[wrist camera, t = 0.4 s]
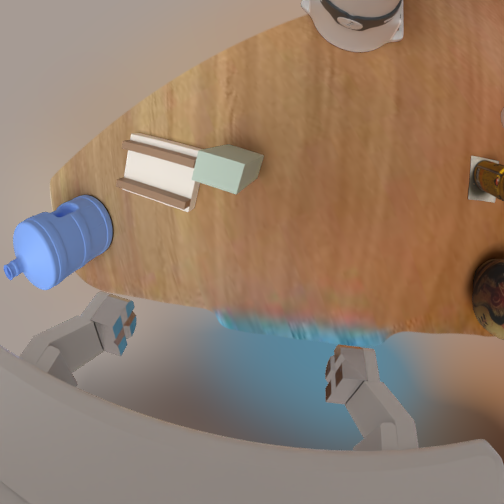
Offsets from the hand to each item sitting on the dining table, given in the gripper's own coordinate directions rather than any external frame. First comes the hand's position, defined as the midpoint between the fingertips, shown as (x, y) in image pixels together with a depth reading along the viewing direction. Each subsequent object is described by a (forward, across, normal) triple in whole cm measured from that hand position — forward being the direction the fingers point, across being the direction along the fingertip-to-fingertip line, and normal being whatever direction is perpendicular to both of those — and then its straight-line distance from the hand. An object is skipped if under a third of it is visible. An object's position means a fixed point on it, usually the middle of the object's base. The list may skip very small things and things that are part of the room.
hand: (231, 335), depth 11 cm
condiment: (+42, -40, -3) cm, 58 cm away
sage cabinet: (+45, +6, +7) cm, 46 cm away
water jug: (+47, +43, +28) cm, 69 cm away
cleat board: (+46, +22, +12) cm, 53 cm away
